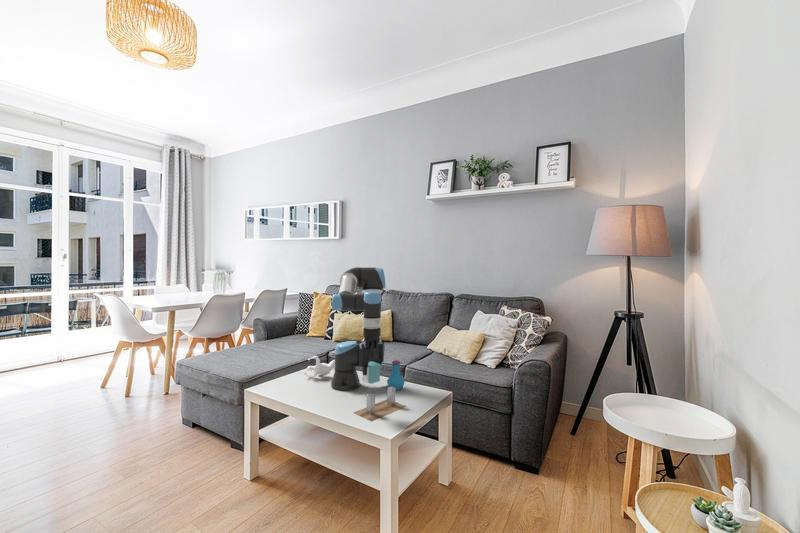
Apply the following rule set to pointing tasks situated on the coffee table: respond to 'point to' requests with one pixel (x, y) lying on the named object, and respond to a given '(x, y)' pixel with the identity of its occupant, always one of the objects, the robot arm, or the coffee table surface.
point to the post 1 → (370, 404)
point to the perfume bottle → (396, 377)
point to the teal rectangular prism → (374, 372)
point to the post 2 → (391, 396)
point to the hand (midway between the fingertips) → (371, 380)
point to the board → (379, 410)
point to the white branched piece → (320, 367)
